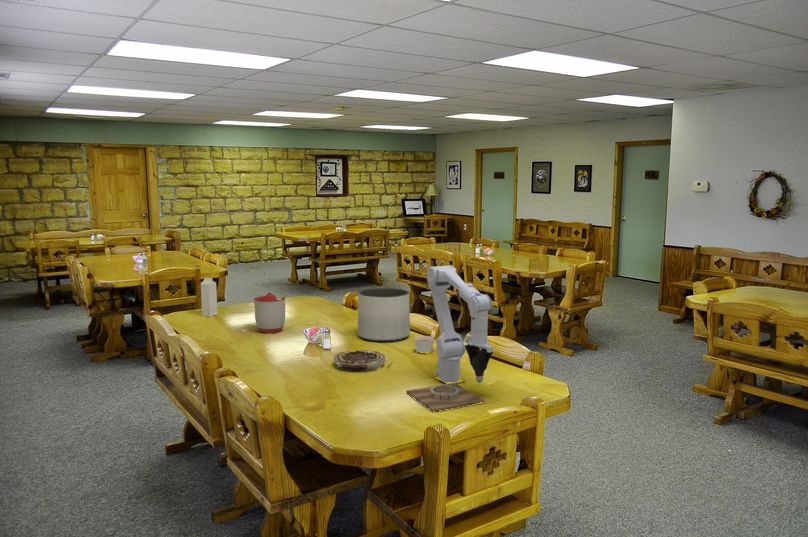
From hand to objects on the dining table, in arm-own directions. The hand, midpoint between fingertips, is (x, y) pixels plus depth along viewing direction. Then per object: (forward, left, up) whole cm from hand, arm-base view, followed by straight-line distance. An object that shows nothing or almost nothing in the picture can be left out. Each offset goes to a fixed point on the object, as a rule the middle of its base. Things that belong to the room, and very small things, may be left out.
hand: (478, 367), depth 209 cm
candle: (-56, +8, -10) cm, 58 cm away
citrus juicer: (-124, -44, -10) cm, 132 cm away
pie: (-51, -25, -11) cm, 58 cm away
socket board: (-2, -12, -10) cm, 16 cm away
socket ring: (-2, -12, -10) cm, 16 cm away
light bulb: (0, 0, -6) cm, 6 cm away
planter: (-89, +3, -10) cm, 90 cm away
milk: (-172, -68, -10) cm, 185 cm away
